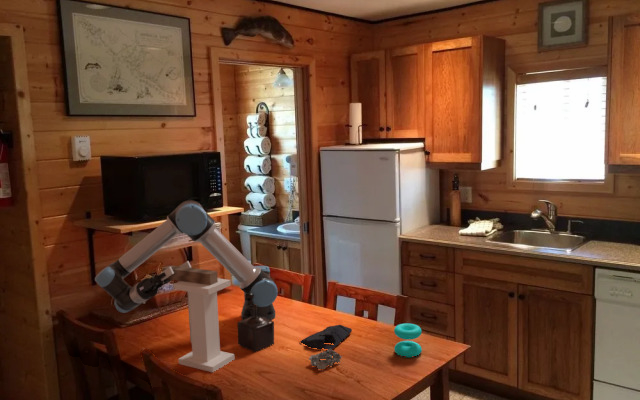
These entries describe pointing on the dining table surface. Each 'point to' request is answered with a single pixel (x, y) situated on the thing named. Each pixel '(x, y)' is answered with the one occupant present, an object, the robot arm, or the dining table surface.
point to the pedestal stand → (204, 326)
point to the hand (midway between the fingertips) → (180, 267)
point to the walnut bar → (193, 275)
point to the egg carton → (327, 356)
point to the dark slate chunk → (327, 337)
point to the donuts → (407, 333)
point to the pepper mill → (255, 329)
